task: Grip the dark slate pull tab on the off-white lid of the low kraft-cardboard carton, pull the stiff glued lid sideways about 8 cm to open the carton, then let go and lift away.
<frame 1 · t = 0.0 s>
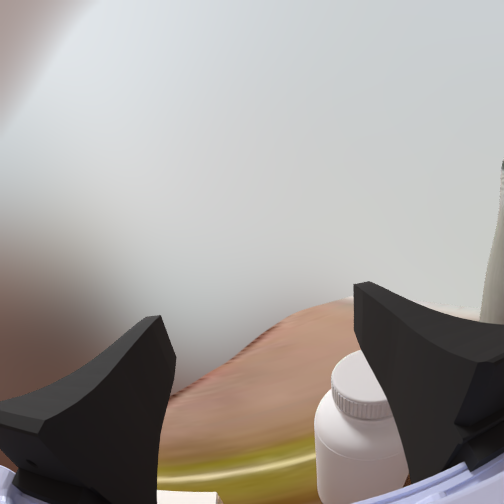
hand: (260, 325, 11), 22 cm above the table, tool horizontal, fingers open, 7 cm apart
gray tapered bottle: (495, 408, 23), on the table
pill bottle: (360, 487, 20), on the table
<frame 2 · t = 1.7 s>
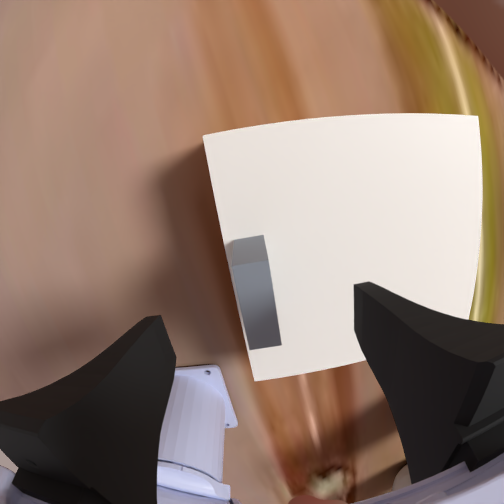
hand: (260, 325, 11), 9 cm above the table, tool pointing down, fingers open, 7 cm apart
gray tapered bottle: (414, 462, 32), on the table
carton lid: (387, 264, 14), point 6 cm above the table, slide at 0.0 cm
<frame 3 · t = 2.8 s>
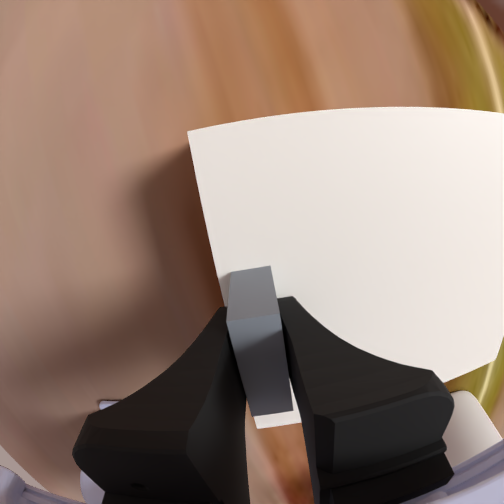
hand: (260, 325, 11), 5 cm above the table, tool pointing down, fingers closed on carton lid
carton lid: (426, 301, 10), point 6 cm above the table, slide at 0.0 cm, touching gripper
pill bottle: (438, 416, 22), on the table
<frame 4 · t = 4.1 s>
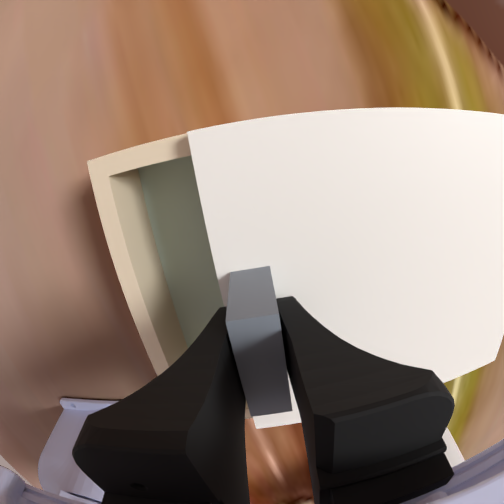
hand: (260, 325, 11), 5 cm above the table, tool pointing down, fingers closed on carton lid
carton: (294, 260, 16), on the table
carton lid: (426, 302, 10), point 6 cm above the table, slide at 4.2 cm, touching gripper
pill bottle: (399, 430, 22), on the table
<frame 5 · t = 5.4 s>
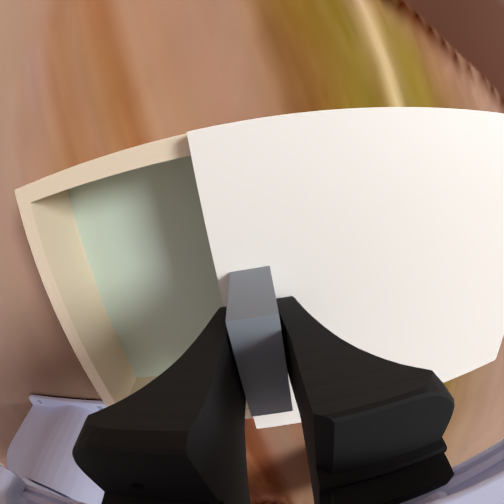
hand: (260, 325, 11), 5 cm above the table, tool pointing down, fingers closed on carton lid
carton: (214, 273, 16), on the table
carton lid: (426, 302, 10), point 6 cm above the table, slide at 8.5 cm, touching gripper
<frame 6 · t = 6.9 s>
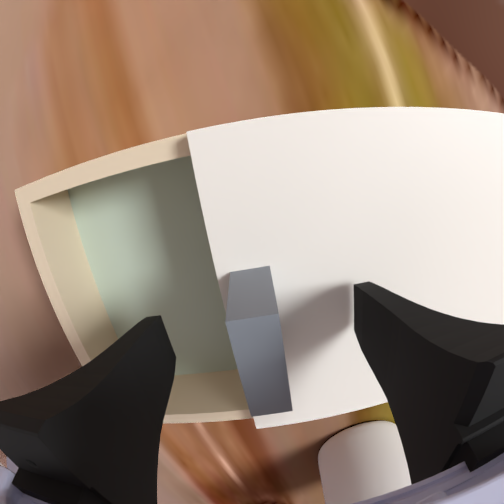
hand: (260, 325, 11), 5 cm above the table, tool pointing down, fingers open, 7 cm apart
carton: (213, 273, 16), on the table
carton lid: (426, 302, 10), point 6 cm above the table, slide at 8.5 cm
pill bottle: (357, 442, 23), on the table
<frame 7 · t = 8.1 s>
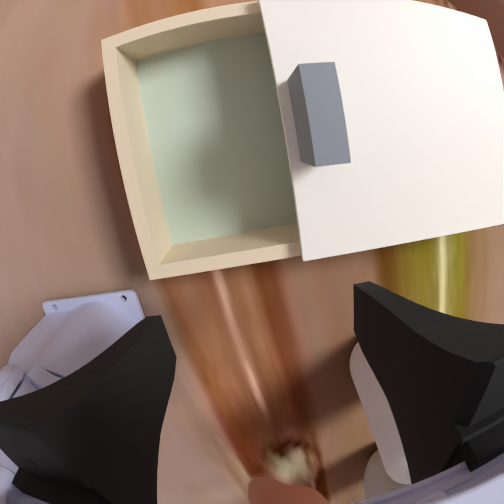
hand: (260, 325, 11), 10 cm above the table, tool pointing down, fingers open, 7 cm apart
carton: (258, 129, 18), on the table
gray tapered bottle: (391, 445, 30), on the table
carton lid: (435, 112, 12), point 6 cm above the table, slide at 8.5 cm
pill bottle: (387, 349, 24), on the table
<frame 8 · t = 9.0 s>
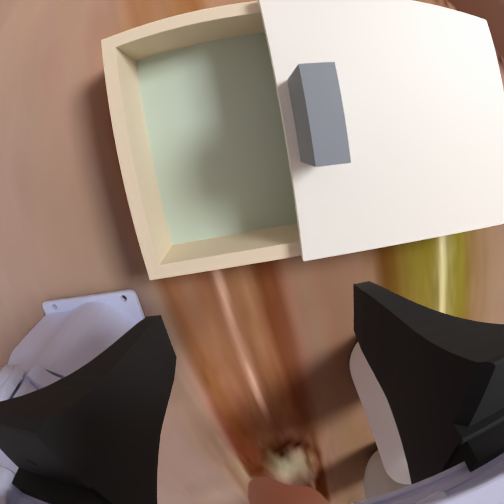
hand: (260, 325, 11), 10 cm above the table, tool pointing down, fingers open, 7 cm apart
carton: (258, 129, 18), on the table
gray tapered bottle: (391, 445, 30), on the table
carton lid: (435, 112, 12), point 6 cm above the table, slide at 8.5 cm
pill bottle: (387, 349, 24), on the table
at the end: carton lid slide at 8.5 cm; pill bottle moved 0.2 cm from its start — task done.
